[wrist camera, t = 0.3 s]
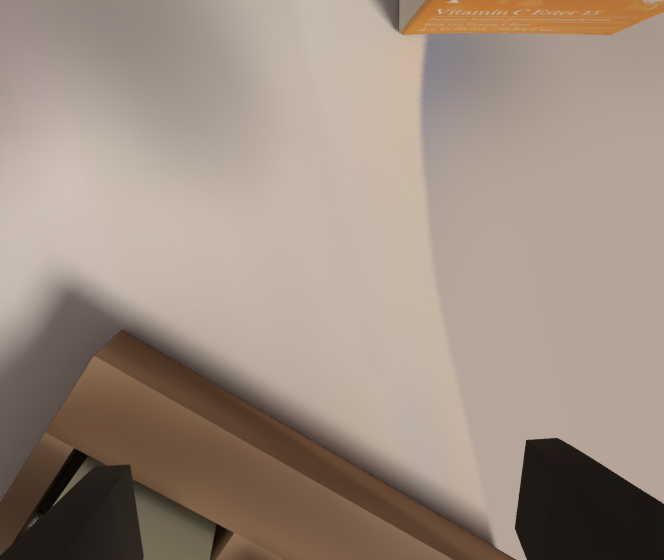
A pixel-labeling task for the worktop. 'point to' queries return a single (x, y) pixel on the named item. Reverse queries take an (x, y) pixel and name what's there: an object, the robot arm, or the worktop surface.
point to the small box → (524, 16)
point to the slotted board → (227, 469)
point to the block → (163, 523)
